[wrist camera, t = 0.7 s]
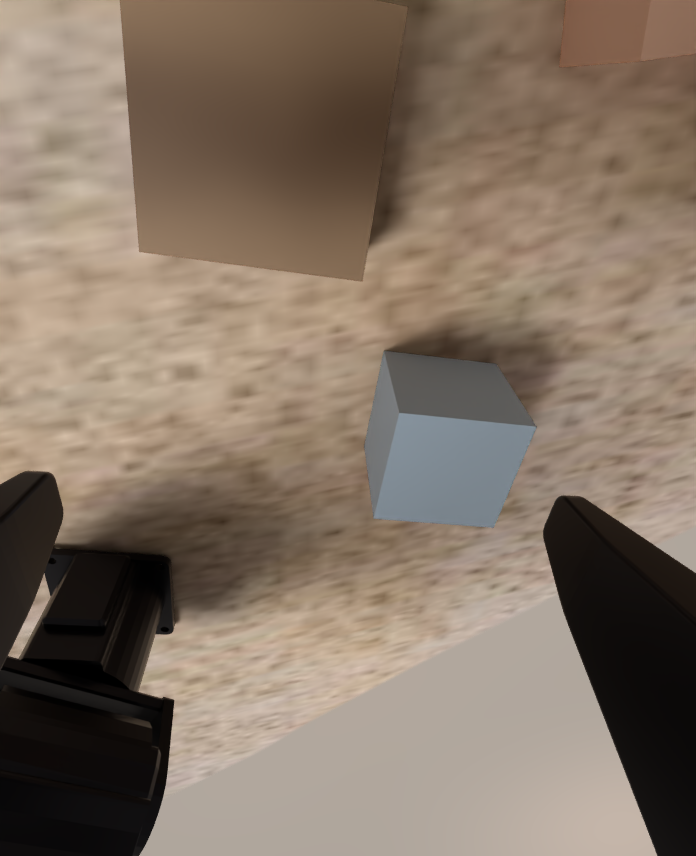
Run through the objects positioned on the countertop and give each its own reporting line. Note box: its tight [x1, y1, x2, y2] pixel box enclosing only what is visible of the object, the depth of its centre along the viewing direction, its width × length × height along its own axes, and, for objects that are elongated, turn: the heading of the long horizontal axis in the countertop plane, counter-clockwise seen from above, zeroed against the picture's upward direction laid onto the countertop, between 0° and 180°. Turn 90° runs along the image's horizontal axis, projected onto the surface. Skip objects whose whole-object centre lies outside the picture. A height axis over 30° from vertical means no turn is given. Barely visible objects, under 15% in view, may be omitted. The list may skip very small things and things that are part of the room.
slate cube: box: [364, 351, 537, 528], centre depth 21 cm, size 5×5×5 cm
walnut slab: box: [120, 0, 408, 281], centre depth 16 cm, size 7×7×4 cm
